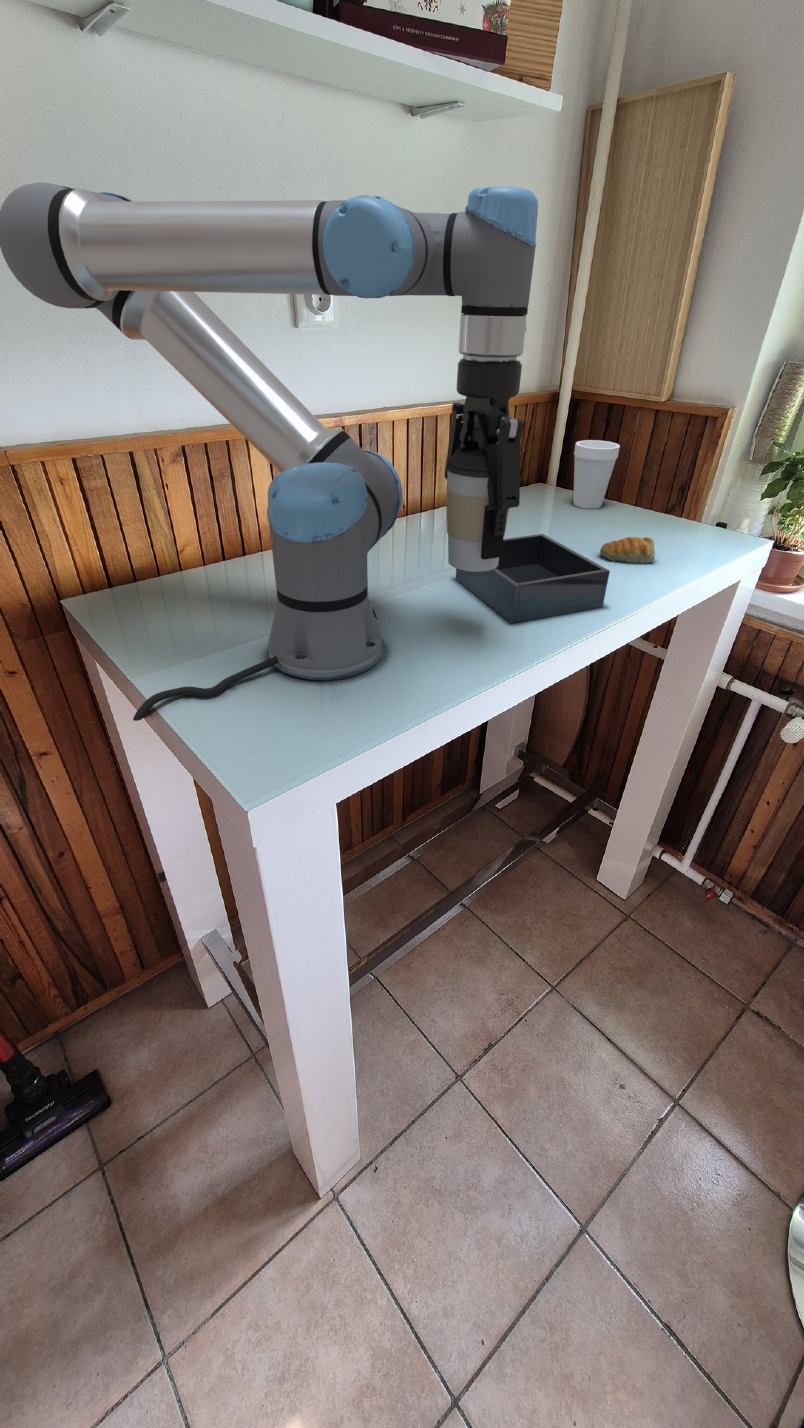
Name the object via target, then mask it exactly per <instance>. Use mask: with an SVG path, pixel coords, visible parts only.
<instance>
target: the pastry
mask: <svg viewBox="0 0 804 1428" xmlns="http://www.w3.org/2000/svg"><path fill="white" fill-rule="evenodd" d="M599 554H600V555H601V556H603V557H604V558H606V559H607V560H610V561H613V562H622V563H629V564H637V563H640V564H649V563H653V562H652V561H654V559H655V556H656V550H655V542H654V540H653V538H652V537H647V536H644V537H637V536H627V537H624V538H621V539H618V540H615V539H613V540H612V541H609V542H607V543H604V544H603V545H601V548H600V550H599Z"/></svg>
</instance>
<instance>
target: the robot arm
mask: <svg viewBox="0 0 804 1428" xmlns="http://www.w3.org/2000/svg"><path fill="white" fill-rule="evenodd" d="M464 209H465V210H464V211H458V212H452V213H441V212H440V213H438V212H414V211H411V210H409V209H407V208H403V207H401V206H399V205H396V204H395V203H393V202H392V201H390V200H387V199H385V198H384V197H382V196H377V195H376V196H374V195H357V196H352V197H350V198H348V199H346V200H321V199H319V200H314V199H313V200H182V201H181V200H168V201H167V200H165V201H164V200H162V201H160V200H157V201H156V200H155V201H154V200H153V201H151V200H149V201H148V200H147V201H141V200H140V201H136V200H135V201H134V200H132V199H130V198H129V197H127V196H123V195H120V194H118V193H114V192H105V191H102V192H101V191H100V192H95V191H90V190H86V189H83V188H74V187H69V186H64V185H59V184H54V183H49V182H33V183H26V184H24V185H23V184H22V185H21V186H19V187H17V188H16V189H14V190H13V191H11V192H10V193H9V194H8V195H7V196H6V198H5V199H4V200H3V202H2V203H1V207H0V251H1V254H2V256H3V259H4V261H5V263H6V265H7V267H8V269H9V270H10V272H11V273H12V274H13V276H14V277H15V279H16V280H17V281H18V282H19V283H20V284H21V286H23V288H25V290H27V291H28V292H29V293H31V295H33V296H35V297H36V298H37V299H39V300H41V301H43V302H44V303H47V304H49V305H52V306H55V307H59V308H64V309H77V310H78V309H96V310H97V311H99V312H100V313H101V314H102V315H103V316H105V318H107V320H109V322H110V323H111V324H112V325H113V326H115V327H116V329H118V330H119V331H120V333H122V334H123V335H124V336H125V337H126V338H127V339H129V340H133V341H137V340H140V341H141V340H142V341H143V340H144V341H146V342H148V344H150V345H151V347H153V348H154V350H156V351H157V352H158V353H159V355H161V357H163V359H165V360H166V361H167V362H168V363H169V364H170V365H171V366H172V367H173V369H175V370H176V371H177V372H178V373H179V374H180V375H181V376H182V377H183V378H184V379H185V380H186V381H187V382H188V383H189V384H190V385H191V386H192V387H193V388H194V389H195V390H196V391H197V392H198V393H199V394H200V395H201V396H202V397H203V398H204V399H205V400H206V401H207V402H208V403H209V404H210V405H211V406H212V407H213V408H214V409H215V410H216V411H217V412H218V413H219V414H220V415H221V416H222V417H223V418H224V419H225V420H227V422H228V423H229V424H230V425H231V426H232V427H233V428H234V429H235V430H237V432H238V433H239V434H240V435H241V436H242V437H243V438H244V439H245V440H246V441H247V442H248V443H249V444H251V446H253V448H254V449H256V451H257V452H258V453H259V454H261V455H262V456H263V458H265V459H266V460H267V461H268V462H269V463H270V464H271V465H272V467H274V468H275V469H276V470H277V471H278V472H279V473H278V474H277V475H276V476H275V477H274V478H273V479H272V480H271V481H270V483H269V486H268V489H267V507H266V515H267V516H266V517H267V522H268V526H269V535H270V543H271V552H272V561H273V570H274V571H273V572H274V580H275V587H276V588H275V589H276V598H277V599H276V600H277V604H276V607H275V612H274V616H273V621H272V624H271V629H270V633H269V637H268V647H267V649H268V655H269V656H268V657H269V658H268V659H265V660H263V661H261V662H259V663H257V664H255V665H254V664H253V665H252V666H250V667H247V668H245V669H242V670H241V671H238V672H236V673H234V674H231V675H230V676H227V677H226V678H224V679H222V680H221V681H219V682H218V683H217V684H216V685H214V686H211V687H206V688H203V687H197V686H181V687H177V688H171V689H167V690H163V691H160V692H157V693H155V694H153V695H151V696H150V697H149V698H147V699H146V700H145V701H144V702H143V703H142V704H141V706H140V707H139V708H138V709H137V710H136V712H135V714H134V716H133V718H132V720H133V722H137V721H141V720H143V719H144V718H145V716H146V715H147V713H148V712H149V711H150V710H151V709H152V708H153V707H154V706H155V705H156V704H158V703H159V702H162V701H164V700H167V699H171V698H175V697H180V696H184V695H190V696H191V695H192V696H197V697H198V696H199V697H210V696H215V695H218V694H220V693H221V692H223V691H224V690H225V689H226V688H228V687H229V686H231V685H233V684H235V683H237V682H239V681H242V680H244V679H247V678H249V677H251V676H253V675H255V674H257V673H259V672H262V671H264V670H266V669H268V668H271V667H273V666H274V667H275V668H276V669H277V670H278V671H280V672H282V673H283V674H286V675H289V676H291V677H295V678H298V679H304V680H311V681H331V680H339V679H346V678H349V677H353V676H356V675H359V674H362V673H364V672H366V671H367V670H369V669H372V668H373V667H375V666H376V665H377V664H378V662H379V661H380V659H381V658H382V655H383V639H382V638H383V637H382V633H381V630H380V628H379V624H378V622H377V621H378V617H377V614H376V611H375V609H373V608H372V606H371V603H370V600H369V589H368V585H369V581H368V578H369V577H368V575H369V574H368V554H369V552H370V551H371V550H372V549H373V548H374V546H375V545H376V544H377V543H378V542H379V541H380V540H381V539H382V538H383V537H385V536H386V535H387V533H388V532H389V531H390V530H391V529H393V527H394V525H395V523H396V521H397V518H398V516H399V515H400V512H401V509H402V506H403V499H404V495H403V493H404V491H403V485H402V481H401V478H400V475H399V473H398V472H397V470H396V467H395V466H394V465H393V464H392V463H391V462H390V460H388V459H387V458H386V457H384V456H383V455H382V454H380V453H378V452H376V451H373V450H369V449H363V448H362V447H361V446H360V445H359V444H358V443H357V442H356V441H355V440H354V439H353V438H352V437H351V435H349V434H348V433H347V432H346V431H345V430H344V429H343V428H328V427H326V426H325V425H324V424H323V423H322V422H320V420H319V419H318V418H317V417H316V416H315V415H314V414H313V413H312V412H311V411H310V410H309V409H308V408H307V407H306V406H305V405H304V403H302V402H301V401H300V400H299V399H298V397H297V396H296V395H295V394H293V393H292V391H291V390H290V389H289V388H288V387H286V385H285V384H284V383H283V382H282V381H281V380H280V379H279V378H278V377H277V376H276V375H275V374H274V373H273V372H272V371H271V370H270V369H269V368H268V367H267V366H266V365H265V364H264V362H263V361H261V359H260V358H259V357H258V356H256V354H255V353H254V352H253V351H252V350H251V349H250V348H249V347H248V346H247V345H246V344H245V343H244V341H242V340H241V339H240V338H239V336H238V335H236V333H235V332H234V331H232V330H231V328H230V327H229V326H228V325H227V324H226V323H225V322H224V321H223V320H222V319H221V318H220V317H219V316H218V315H217V314H216V313H215V312H214V311H213V310H212V309H211V308H210V306H208V305H207V304H206V303H205V302H204V301H203V300H202V299H201V297H199V296H198V294H197V293H223V294H224V293H225V294H227V293H228V294H229V293H230V294H267V295H268V294H271V295H272V294H273V295H314V296H315V295H317V296H336V297H357V298H360V299H382V298H385V297H398V296H402V297H403V296H437V297H438V296H439V297H440V296H441V297H442V296H444V297H445V296H447V297H461V309H460V319H459V320H460V321H459V337H458V353H459V354H460V355H462V358H460V359H459V361H458V362H457V375H456V392H457V393H458V394H459V395H460V396H463V397H465V401H464V402H453V403H452V404H451V425H450V433H449V439H448V440H449V442H448V447H447V454H446V460H445V467H444V479H445V480H448V476H447V470H446V466H447V459H448V458H449V457H450V456H453V455H454V453H455V451H456V449H458V448H462V447H463V448H464V451H465V450H479V451H480V452H481V453H482V454H483V456H484V457H485V458H486V465H487V468H488V469H489V471H488V474H489V478H488V484H487V489H488V498H489V505H487V506H484V508H485V515H484V526H483V537H482V548H481V558H482V559H483V560H485V559H492V558H499V557H502V547H503V539H505V536H504V532H505V533H506V530H505V526H506V527H507V525H506V524H505V523H506V517H507V510H508V509H509V508H510V509H513V508H518V507H520V503H521V502H520V501H521V500H520V497H521V496H520V495H521V493H520V491H521V488H520V487H521V483H520V482H521V439H522V434H523V428H524V420H523V418H513V417H512V416H511V415H510V405H509V403H510V400H511V399H512V398H514V397H516V396H518V395H519V393H520V387H521V377H522V369H523V364H522V363H521V361H520V360H518V357H520V356H522V355H523V354H524V347H525V346H524V345H525V336H526V332H527V315H528V312H529V311H528V310H529V308H528V307H529V303H530V296H531V295H530V294H531V285H532V279H533V270H534V263H535V254H536V247H537V242H536V240H537V239H536V238H537V225H538V214H539V213H538V212H539V211H538V210H539V201H538V198H537V196H536V195H535V193H534V192H533V191H531V190H530V189H528V188H524V187H517V186H516V187H515V186H489V187H486V186H485V187H484V186H483V187H477V188H474V189H472V190H471V191H470V192H469V194H468V198H467V204H466V206H465V208H464ZM510 509H509V510H510ZM156 875H157V879H158V882H159V883H165V882H166V881H167V877H166V872H165V871H162V872H158V873H157V874H156Z"/></svg>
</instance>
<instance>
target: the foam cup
mask: <svg viewBox="0 0 804 1428" xmlns="http://www.w3.org/2000/svg"><path fill="white" fill-rule="evenodd" d="M620 447H621V445H620V444H619V443H616V442H612V441H609V440H599V439H598V440H597V439H596V440H595V439H585V440H579V441H578V440H577V441H576V442H575V445H574V450H573V451H574V452H573V456H574V465H573V466H574V467H573V468H574V469H573V470H574V471H573V502H572V503H573V505H574V506H576V507H577V508H583V509H599V508H601V507H602V505H603V502H604V499H605V496H606V493H607V490H608V487H609V482H610V479H611V477H612V474H613V471H614V468H615V464H616V461H617V459H618V458H619V452H620Z"/></svg>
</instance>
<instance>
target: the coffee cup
mask: <svg viewBox="0 0 804 1428" xmlns="http://www.w3.org/2000/svg"><path fill="white" fill-rule="evenodd" d="M446 460H447V466H446V465H445V466H446V470H447V476H448V479H447V485H446V489H445V490H446V533H447V557H448V558H447V560H448V561H447V563H448V565H449V566H451V567H452V568H454V569H456V568H457V569H460V570H464V571H472V572H482V571H489V570H492V569H495V568H496V567H497V566H498V562H499V558H492V559H485V560H483V559H482V558H481V548H482V537H483V526H484V515H485V508H484V506H487V505H489V498H488V489H487V484H488V478H489V474H488V471H489V469H488V468H487V465H486V458H485V457H484V456H483V454H482V453H481V452H480V451H479V450H465V451H464V448H463V447H462V448H458V449H456V451H455V453H454V455H453V456H450V457H449V458H448V459H447V458H446ZM510 509H511V508H509V509H508V510H507V517H506V523H505V524H506V526H505V532H504V537H505V536H506V530H507V524H508V519H509V513H510Z"/></svg>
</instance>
